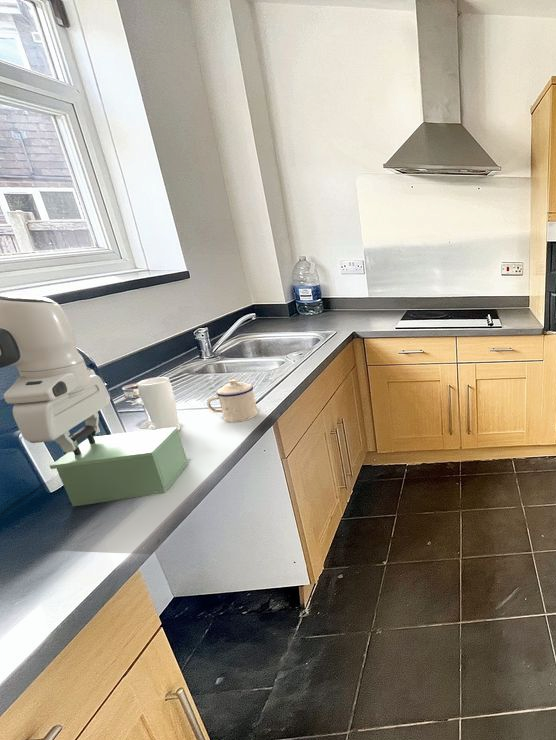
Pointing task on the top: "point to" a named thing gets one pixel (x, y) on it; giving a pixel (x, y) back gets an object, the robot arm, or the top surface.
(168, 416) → the white vase
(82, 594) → the top surface
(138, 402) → the wineglass
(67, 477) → the storage box
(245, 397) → the teacup with lid
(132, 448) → the box lid
